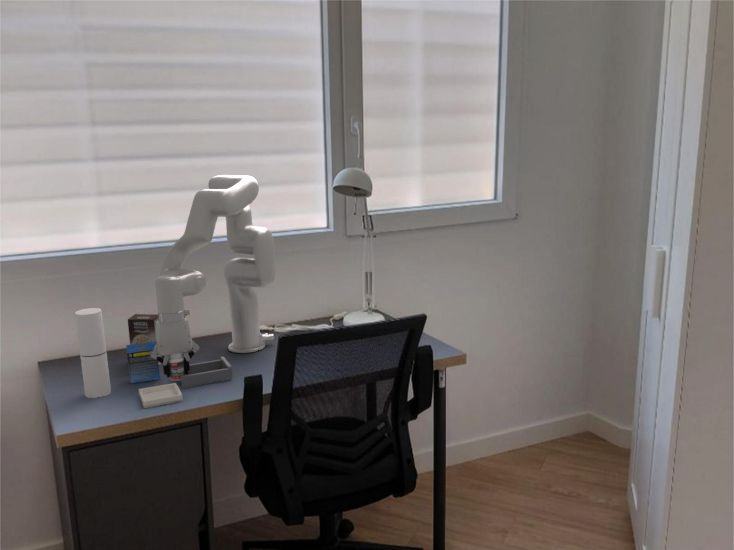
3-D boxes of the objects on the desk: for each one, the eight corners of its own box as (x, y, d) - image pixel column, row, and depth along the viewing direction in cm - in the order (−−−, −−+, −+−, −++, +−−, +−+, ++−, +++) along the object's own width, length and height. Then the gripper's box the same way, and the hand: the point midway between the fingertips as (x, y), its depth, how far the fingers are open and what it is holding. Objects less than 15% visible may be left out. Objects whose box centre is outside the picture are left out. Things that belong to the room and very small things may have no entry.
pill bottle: (171, 382, 212) (168, 355, 210) (167, 377, 216) (165, 351, 214) (187, 379, 214) (184, 352, 212) (183, 374, 218) (181, 348, 216)
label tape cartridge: (159, 375, 222) (156, 337, 220) (160, 379, 219) (156, 341, 216) (130, 379, 220) (125, 341, 217) (130, 384, 216) (125, 345, 213)
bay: (224, 369, 226) (223, 356, 225) (232, 379, 217) (231, 366, 216) (176, 377, 220) (175, 364, 219) (182, 388, 211) (181, 374, 210)
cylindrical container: (95, 399, 204) (85, 315, 199) (79, 395, 208) (69, 312, 203) (116, 391, 210) (106, 309, 205) (100, 387, 214) (90, 306, 208)
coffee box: (131, 366, 231) (125, 319, 228) (139, 360, 237) (134, 313, 234) (158, 367, 230) (153, 319, 227) (165, 360, 236) (161, 313, 233)
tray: (176, 388, 211) (175, 382, 210) (182, 401, 201) (182, 394, 201) (139, 395, 206) (138, 389, 206) (144, 408, 197) (143, 401, 197)
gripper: (197, 309, 217) (202, 366, 221) (140, 317, 211) (146, 375, 215) (203, 315, 211) (208, 373, 215) (143, 323, 204) (150, 383, 208)
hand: (177, 374), depth 215 cm, fingers closed on pill bottle, 4 cm apart
